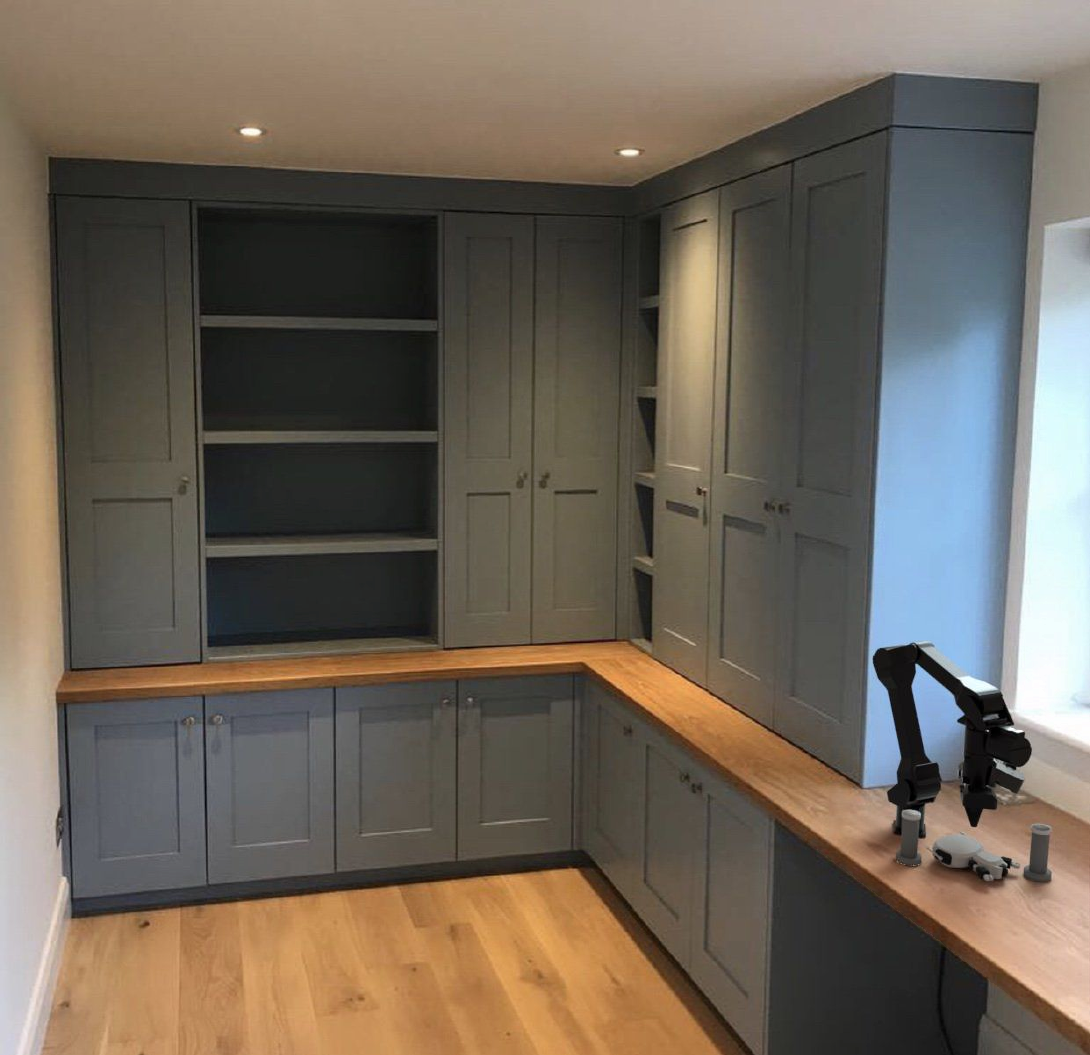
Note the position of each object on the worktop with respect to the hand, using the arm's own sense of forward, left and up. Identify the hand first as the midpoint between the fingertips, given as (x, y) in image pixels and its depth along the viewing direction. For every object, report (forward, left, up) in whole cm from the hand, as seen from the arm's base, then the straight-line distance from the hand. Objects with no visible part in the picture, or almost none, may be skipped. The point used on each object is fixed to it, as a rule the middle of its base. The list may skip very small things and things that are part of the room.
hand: (973, 826), depth 244 cm
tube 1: (+3, -12, -8) cm, 14 cm away
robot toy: (+3, 0, -8) cm, 9 cm away
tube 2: (+3, +12, -8) cm, 14 cm away
